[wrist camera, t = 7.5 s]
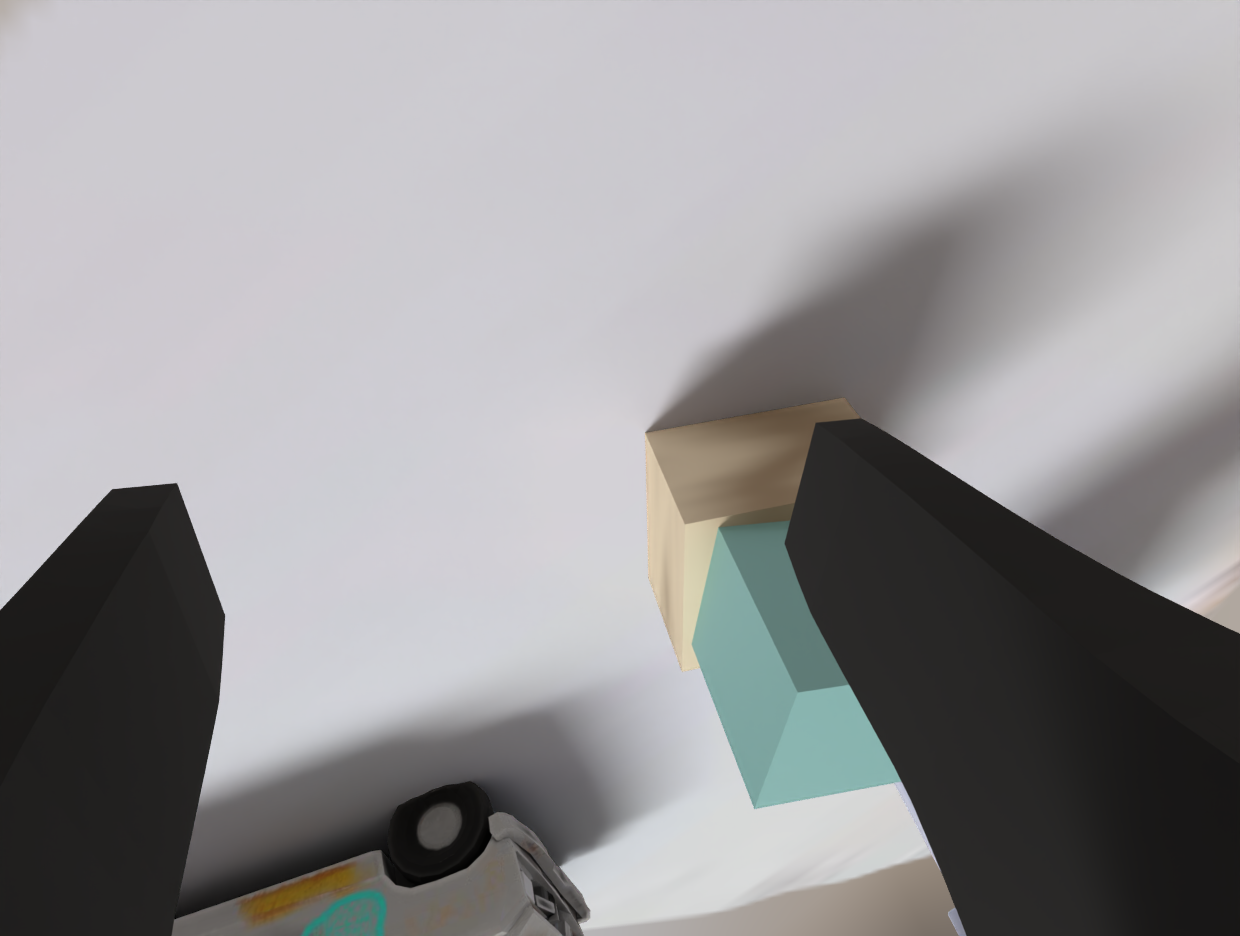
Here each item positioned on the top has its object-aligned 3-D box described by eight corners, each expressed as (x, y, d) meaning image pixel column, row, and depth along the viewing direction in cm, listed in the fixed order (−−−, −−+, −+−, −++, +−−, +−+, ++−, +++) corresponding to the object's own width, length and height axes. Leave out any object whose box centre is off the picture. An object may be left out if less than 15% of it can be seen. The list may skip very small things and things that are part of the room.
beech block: (841, 394, 24) (909, 480, 21) (817, 539, 28) (871, 629, 25) (643, 428, 23) (684, 524, 20) (647, 573, 27) (681, 672, 24)
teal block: (879, 511, 21) (988, 663, 18) (835, 625, 24) (920, 777, 20) (718, 526, 20) (797, 692, 17) (691, 644, 23) (754, 809, 19)
